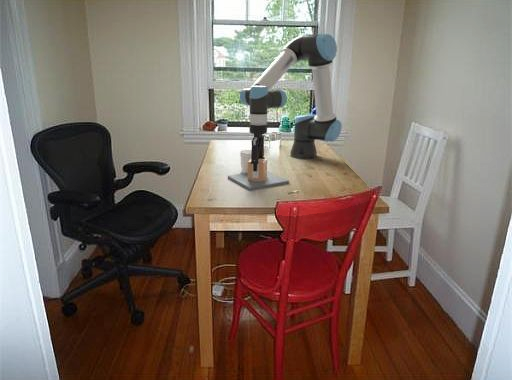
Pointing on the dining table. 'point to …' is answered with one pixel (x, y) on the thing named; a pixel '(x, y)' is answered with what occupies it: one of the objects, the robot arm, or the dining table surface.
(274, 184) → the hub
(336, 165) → the dining table surface
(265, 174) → the peach colored cube
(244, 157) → the white cup
